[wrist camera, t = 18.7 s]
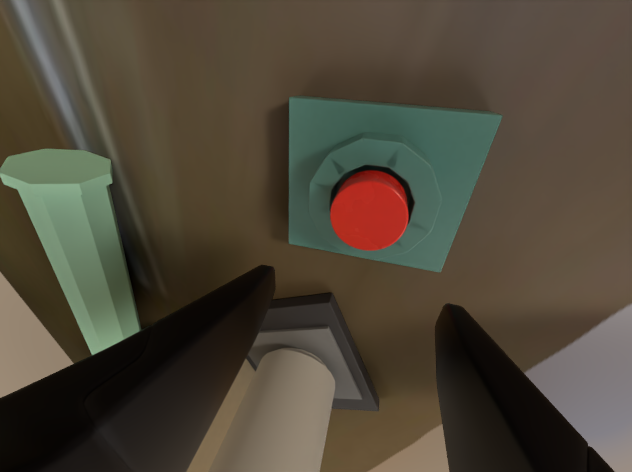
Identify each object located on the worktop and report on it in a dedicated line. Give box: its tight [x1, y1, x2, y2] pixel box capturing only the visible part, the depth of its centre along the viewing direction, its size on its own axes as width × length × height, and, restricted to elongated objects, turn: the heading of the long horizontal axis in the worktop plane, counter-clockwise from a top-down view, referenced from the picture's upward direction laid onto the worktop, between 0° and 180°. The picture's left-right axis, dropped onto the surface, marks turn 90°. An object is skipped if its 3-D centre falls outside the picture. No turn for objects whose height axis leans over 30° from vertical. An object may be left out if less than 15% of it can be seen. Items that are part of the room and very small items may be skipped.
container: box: [0, 149, 141, 355], centre depth 25 cm, size 6×6×25 cm
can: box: [208, 348, 335, 472], centre depth 21 cm, size 8×8×12 cm
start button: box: [330, 170, 409, 251], centre depth 13 cm, size 4×4×2 cm
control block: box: [289, 96, 502, 272], centre depth 15 cm, size 10×9×4 cm
